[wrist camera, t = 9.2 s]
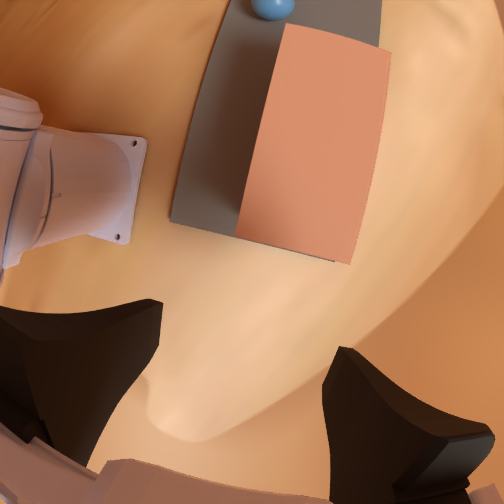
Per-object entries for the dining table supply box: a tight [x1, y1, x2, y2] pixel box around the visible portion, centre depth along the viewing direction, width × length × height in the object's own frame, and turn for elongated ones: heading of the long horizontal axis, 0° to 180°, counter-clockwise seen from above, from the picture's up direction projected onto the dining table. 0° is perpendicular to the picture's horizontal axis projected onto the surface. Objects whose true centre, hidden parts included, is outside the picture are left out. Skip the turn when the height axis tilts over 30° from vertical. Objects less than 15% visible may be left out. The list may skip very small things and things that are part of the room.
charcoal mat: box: [170, 0, 382, 262], centre depth 16 cm, size 12×26×1 cm, turn 167°
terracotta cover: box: [235, 23, 391, 265], centre depth 14 cm, size 5×11×6 cm, turn 167°
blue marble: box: [251, 0, 295, 20], centre depth 14 cm, size 3×3×3 cm
